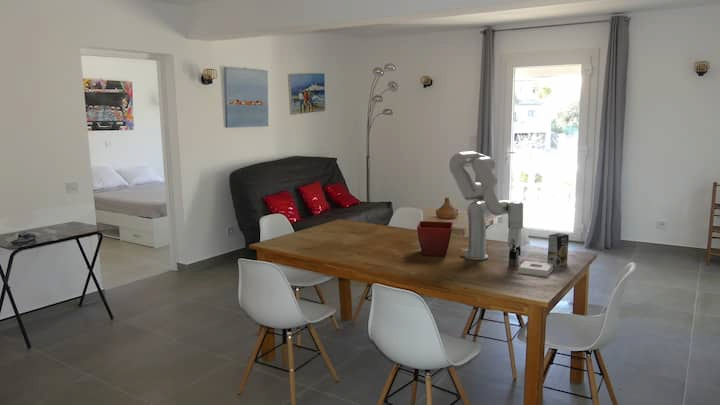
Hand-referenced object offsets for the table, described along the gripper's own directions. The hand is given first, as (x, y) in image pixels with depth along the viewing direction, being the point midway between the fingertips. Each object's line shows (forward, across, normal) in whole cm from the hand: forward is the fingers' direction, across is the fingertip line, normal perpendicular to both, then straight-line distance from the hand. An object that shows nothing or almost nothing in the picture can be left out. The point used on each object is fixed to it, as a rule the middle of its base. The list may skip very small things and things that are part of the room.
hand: (515, 257), depth 292 cm
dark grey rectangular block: (+4, 0, -1) cm, 4 cm away
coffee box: (+5, -12, +19) cm, 23 cm away
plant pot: (+3, -4, -47) cm, 47 cm away
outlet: (+5, +7, +12) cm, 15 cm away
